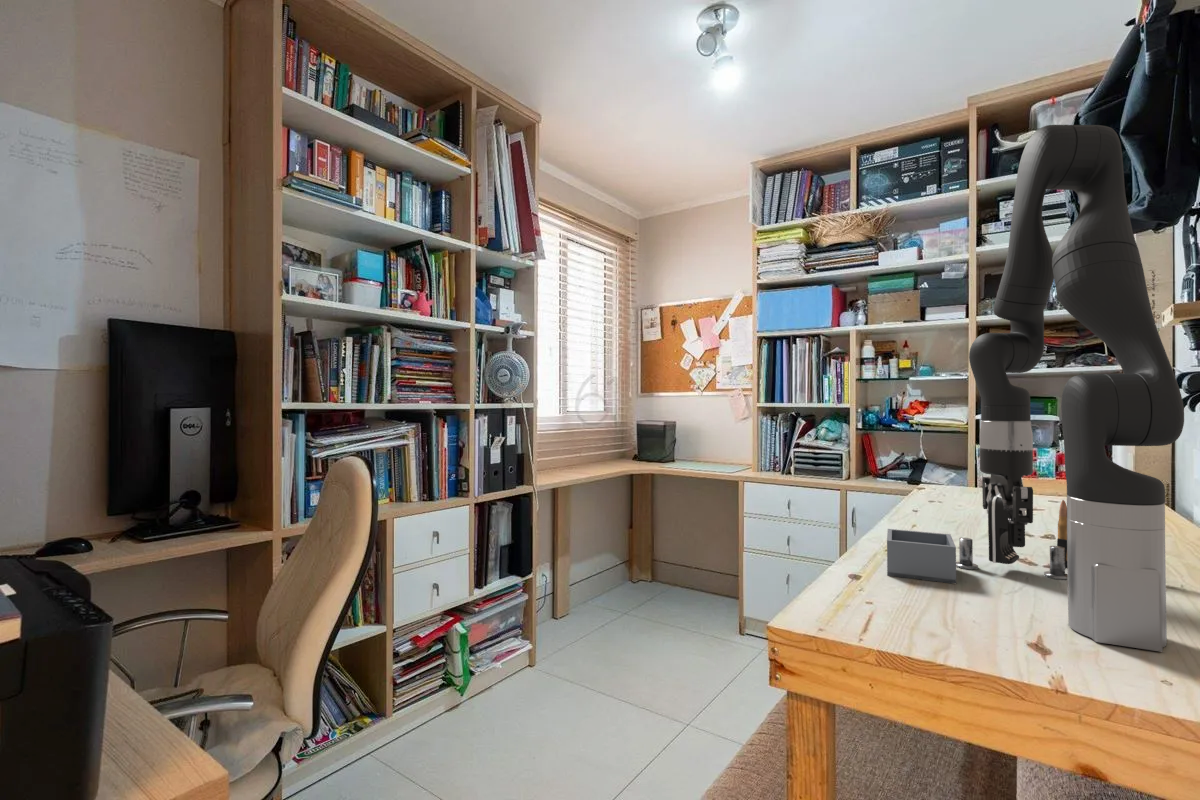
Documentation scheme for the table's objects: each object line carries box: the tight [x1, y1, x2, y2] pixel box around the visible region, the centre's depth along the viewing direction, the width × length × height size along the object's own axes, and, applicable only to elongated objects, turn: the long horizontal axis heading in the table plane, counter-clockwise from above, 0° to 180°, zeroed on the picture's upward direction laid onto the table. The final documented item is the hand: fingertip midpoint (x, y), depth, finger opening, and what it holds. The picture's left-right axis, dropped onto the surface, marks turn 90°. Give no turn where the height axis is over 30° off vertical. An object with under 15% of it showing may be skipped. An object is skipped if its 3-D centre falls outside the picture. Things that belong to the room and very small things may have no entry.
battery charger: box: [987, 495, 1020, 565], centre depth 97 cm, size 7×4×11 cm, turn 130°
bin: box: [886, 528, 957, 584], centre depth 98 cm, size 10×10×6 cm
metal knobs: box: [956, 537, 1068, 581], centre depth 97 cm, size 4×17×5 cm, turn 62°
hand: (1006, 541), depth 97 cm, fingers closed on battery charger, 7 cm apart
